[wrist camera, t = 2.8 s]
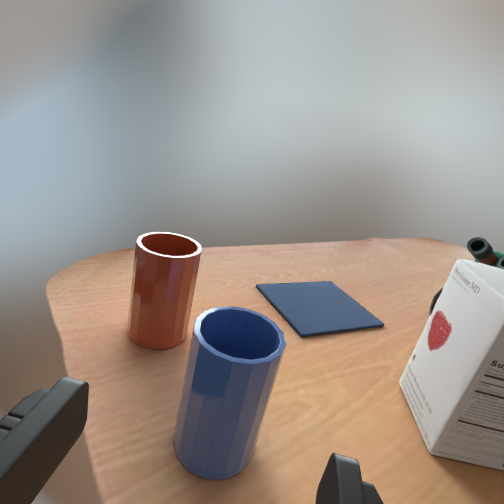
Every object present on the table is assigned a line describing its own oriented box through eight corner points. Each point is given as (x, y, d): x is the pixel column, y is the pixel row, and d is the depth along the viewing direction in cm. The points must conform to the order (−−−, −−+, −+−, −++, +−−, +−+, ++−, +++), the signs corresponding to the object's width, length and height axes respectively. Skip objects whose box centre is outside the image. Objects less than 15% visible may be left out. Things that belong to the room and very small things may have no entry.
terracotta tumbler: (133, 353, 33) (143, 257, 30) (123, 317, 38) (131, 230, 35) (193, 345, 36) (210, 257, 33) (177, 312, 41) (190, 232, 37)
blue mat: (301, 337, 42) (302, 334, 42) (255, 286, 51) (256, 284, 51) (383, 326, 49) (384, 323, 49) (329, 283, 58) (330, 281, 58)
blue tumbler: (187, 492, 23) (214, 370, 19) (164, 418, 28) (182, 309, 24) (266, 465, 26) (303, 355, 22) (233, 402, 31) (259, 303, 27)
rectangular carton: (395, 380, 38) (454, 255, 33) (476, 399, 38) (548, 277, 33) (427, 456, 30) (513, 303, 24) (531, 480, 30) (641, 333, 24)
